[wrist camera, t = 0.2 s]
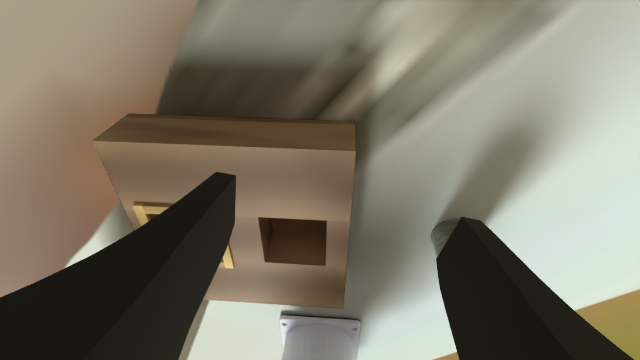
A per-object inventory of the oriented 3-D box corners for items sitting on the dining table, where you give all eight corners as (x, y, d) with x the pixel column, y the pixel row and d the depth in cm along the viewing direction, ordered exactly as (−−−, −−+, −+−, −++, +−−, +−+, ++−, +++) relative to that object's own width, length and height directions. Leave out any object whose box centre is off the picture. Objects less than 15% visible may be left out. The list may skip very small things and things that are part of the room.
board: (343, 271, 27) (343, 311, 24) (184, 261, 28) (164, 299, 25) (354, 121, 19) (355, 153, 16) (128, 113, 20) (89, 142, 17)
